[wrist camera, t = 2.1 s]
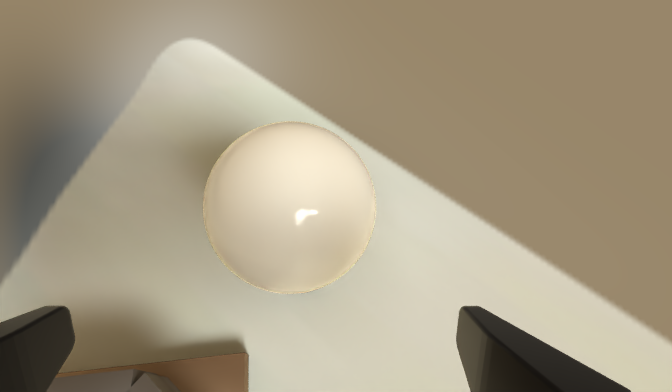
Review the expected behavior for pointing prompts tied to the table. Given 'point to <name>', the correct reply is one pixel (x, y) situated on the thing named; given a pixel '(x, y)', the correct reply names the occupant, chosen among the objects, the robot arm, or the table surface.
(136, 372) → the bulb holder
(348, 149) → the lightbulb
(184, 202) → the table surface
